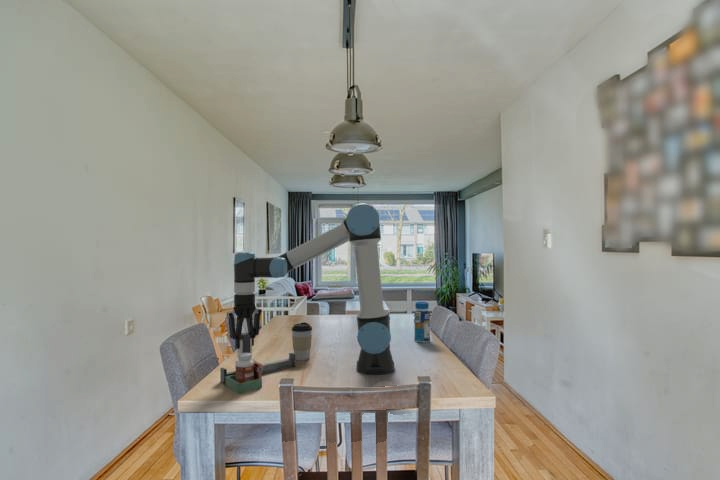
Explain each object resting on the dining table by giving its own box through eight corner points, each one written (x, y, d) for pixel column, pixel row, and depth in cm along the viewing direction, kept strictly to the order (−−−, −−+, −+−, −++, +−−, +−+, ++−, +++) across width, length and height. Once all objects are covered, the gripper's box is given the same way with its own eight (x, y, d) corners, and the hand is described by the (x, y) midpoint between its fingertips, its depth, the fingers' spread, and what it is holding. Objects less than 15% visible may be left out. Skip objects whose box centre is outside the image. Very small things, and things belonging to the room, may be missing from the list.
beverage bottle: (412, 339, 205) (411, 301, 205) (427, 338, 206) (427, 301, 206) (416, 343, 196) (416, 303, 197) (432, 342, 197) (432, 303, 198)
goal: (261, 387, 135) (261, 378, 135) (238, 393, 129) (238, 384, 129) (247, 379, 143) (247, 371, 143) (224, 385, 137) (225, 376, 137)
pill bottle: (246, 390, 132) (246, 357, 133) (231, 388, 135) (231, 355, 135) (257, 384, 138) (257, 352, 138) (243, 382, 140) (243, 351, 141)
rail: (295, 366, 159) (295, 354, 159) (223, 384, 139) (223, 369, 139) (291, 364, 161) (291, 352, 161) (220, 381, 141) (220, 368, 141)
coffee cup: (308, 361, 166) (308, 326, 166) (288, 360, 168) (288, 325, 168) (314, 355, 175) (314, 322, 175) (295, 354, 176) (295, 321, 177)
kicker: (267, 382, 139) (267, 337, 139) (252, 386, 135) (252, 340, 135) (250, 373, 149) (250, 332, 149) (235, 376, 145) (235, 334, 145)
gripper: (259, 290, 154) (259, 350, 154) (219, 294, 143) (219, 358, 143) (268, 292, 149) (268, 353, 148) (228, 296, 138) (228, 362, 137)
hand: (244, 355), depth 146 cm, fingers open, 3 cm apart
